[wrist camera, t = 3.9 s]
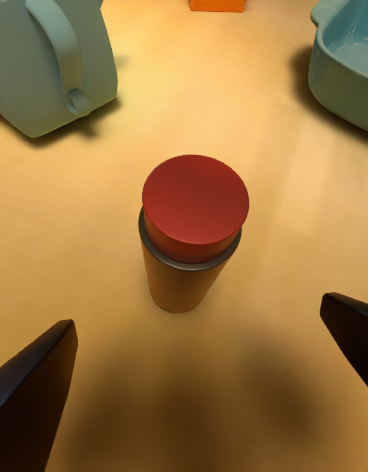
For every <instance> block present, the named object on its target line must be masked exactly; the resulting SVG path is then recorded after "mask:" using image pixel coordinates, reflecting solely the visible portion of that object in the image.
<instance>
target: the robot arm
mask: <svg viewBox="0 0 368 472" xmlns="http://www.w3.org/2000/svg"><path fill="white" fill-rule="evenodd" d="M320 316H321V319H322V321H323V322H324V324H325V325H326V327H327V329H328V330H329V332H330V333H331V335H332V337H333V338H334V340H335V341H336V343H337V345H338V346H339V348H340V350H341V351H342V353H343V354H344V356H345V357H346V358H347V360H348V361H349V363H350V364H351V365H352V367H353V368H354V369H355V371H356V372H357V373H358V375H359V376H360V377H361V379H362V380H363V381H364V383H365V384H366V385H367V387H368V304H367V303H364V302H362V301H359V300H356V299H353V298H350V297H348V296H345V295H342V294H339V293H336V292H332V293H325V294H324V295H323V297H322V302H321V307H320ZM77 347H78V338H77V333H76V328H75V323H74V321H73V320H72V319H69V320H61V321H59V322H57V323H56V324H55V325H53V326H52V327H51V328H50V329H48V330H47V331H46V332H44V333H43V334H42V335H41V336H39V337H38V338H37V339H36V340H34V341H33V342H32V343H30V344H29V345H28V346H27V347H25V348H24V349H23V350H22V351H20V352H19V353H18V354H16V355H15V356H14V357H13V358H11V359H10V360H9V361H8V362H6V363H5V364H4V365H2V366H1V367H0V472H45V468H46V465H47V462H48V459H49V455H50V452H51V449H52V446H53V442H54V439H55V436H56V433H57V429H58V426H59V423H60V420H61V416H62V413H63V410H64V407H65V403H66V400H67V396H68V393H69V388H70V384H71V378H72V373H73V368H74V363H75V358H76V352H77Z"/></svg>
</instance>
